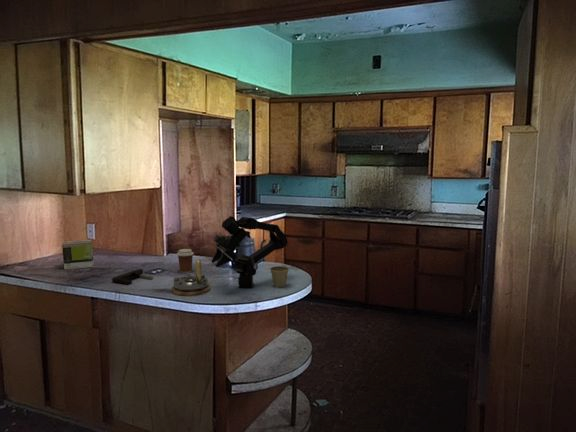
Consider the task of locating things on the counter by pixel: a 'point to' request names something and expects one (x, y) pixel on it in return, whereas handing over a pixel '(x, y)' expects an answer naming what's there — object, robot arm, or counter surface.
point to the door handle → (130, 277)
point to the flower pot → (279, 275)
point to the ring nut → (191, 281)
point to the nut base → (182, 293)
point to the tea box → (77, 254)
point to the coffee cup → (185, 260)
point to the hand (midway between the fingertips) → (214, 264)
